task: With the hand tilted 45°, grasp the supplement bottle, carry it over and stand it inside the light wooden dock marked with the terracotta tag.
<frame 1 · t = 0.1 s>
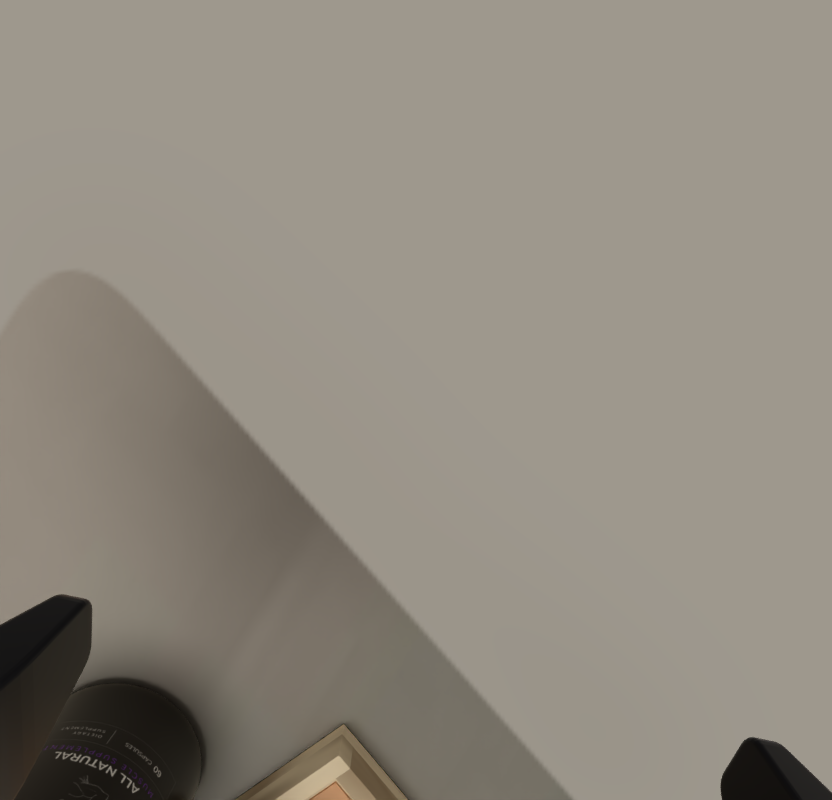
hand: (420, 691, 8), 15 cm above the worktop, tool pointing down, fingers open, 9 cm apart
supplement bottle: (124, 748, 26), on the worktop
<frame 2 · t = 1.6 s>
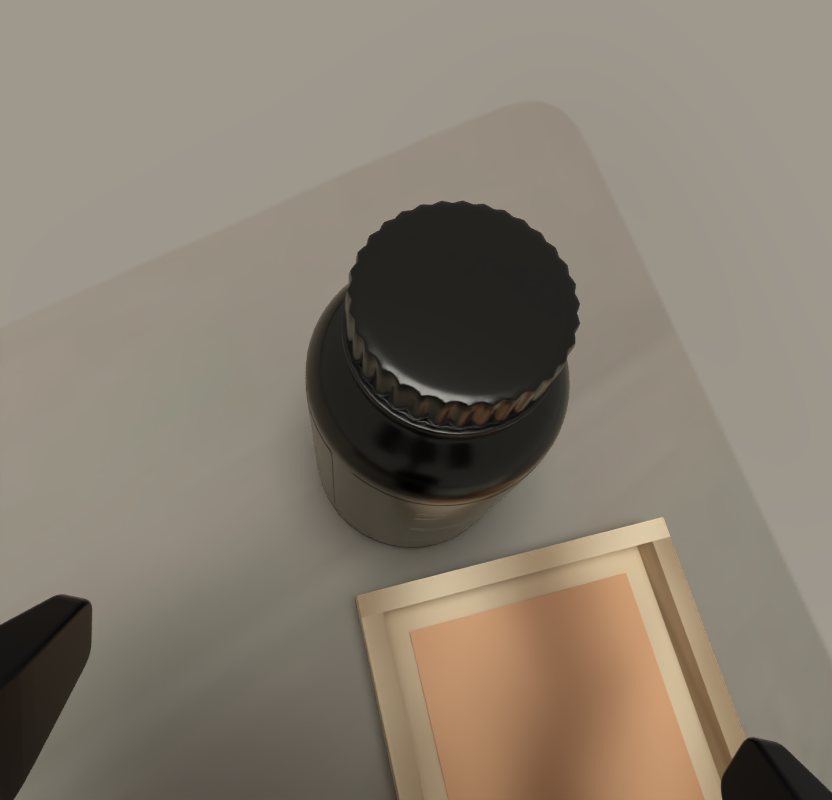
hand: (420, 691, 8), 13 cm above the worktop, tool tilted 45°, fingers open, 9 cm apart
dock: (551, 724, 21), on the worktop
supplement bottle: (406, 458, 24), on the worktop
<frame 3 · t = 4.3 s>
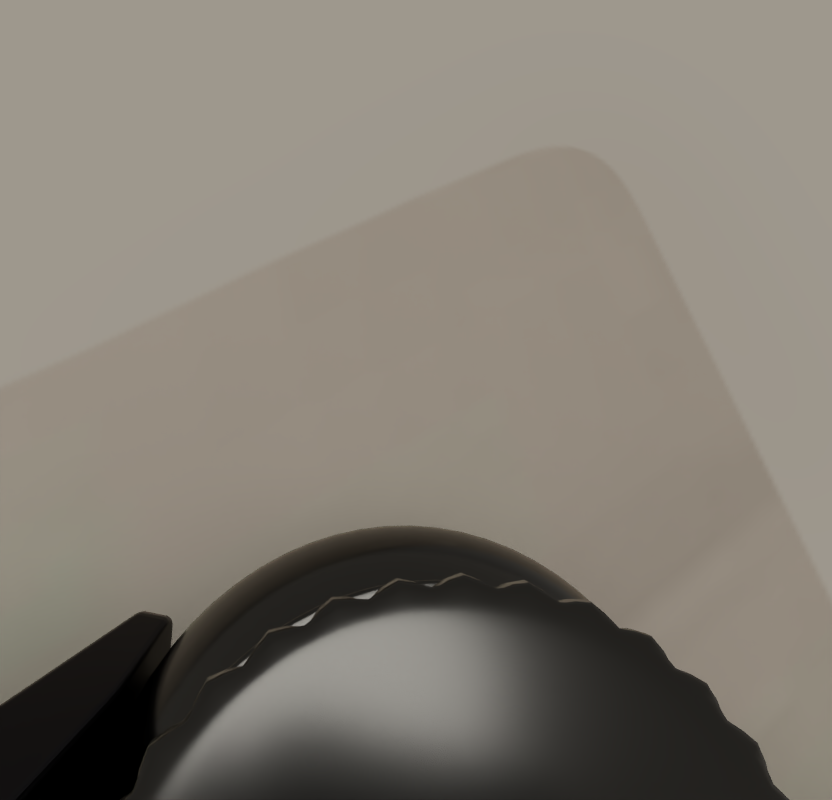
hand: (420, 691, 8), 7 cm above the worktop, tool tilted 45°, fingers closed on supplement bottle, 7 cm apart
supplement bottle: (370, 733, 15), on the worktop, touching gripper
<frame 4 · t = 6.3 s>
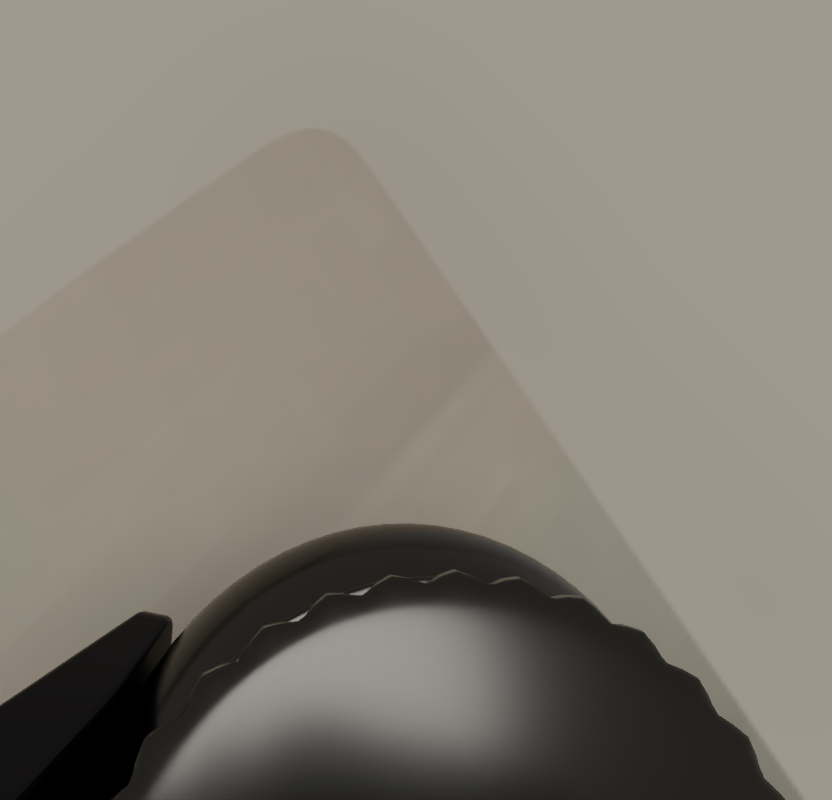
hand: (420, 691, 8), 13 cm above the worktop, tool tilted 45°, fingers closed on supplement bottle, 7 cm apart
supplement bottle: (372, 731, 15), point 6 cm above the worktop, touching gripper
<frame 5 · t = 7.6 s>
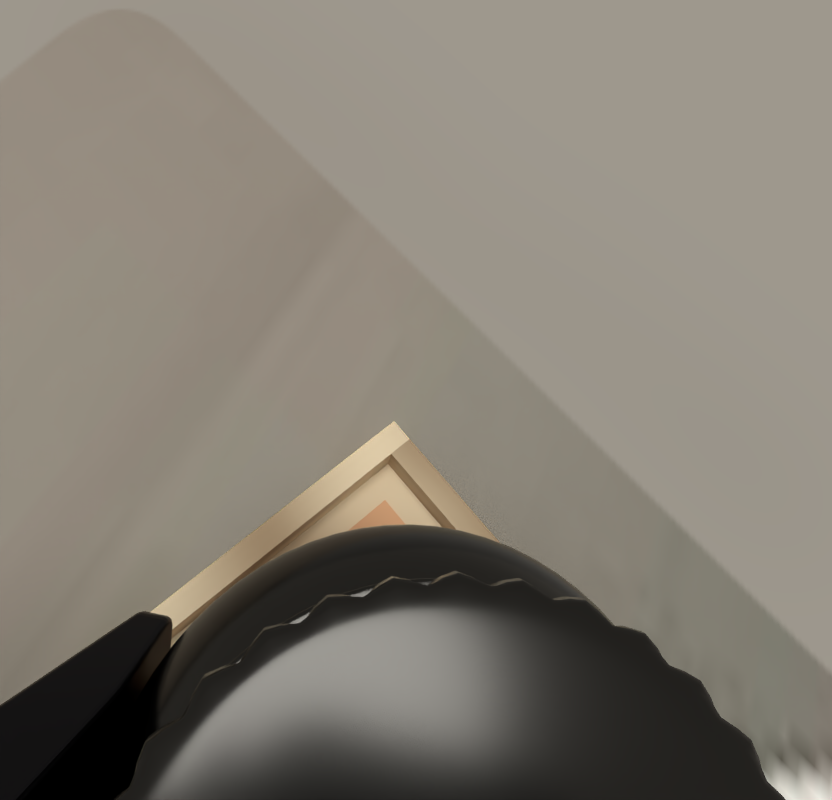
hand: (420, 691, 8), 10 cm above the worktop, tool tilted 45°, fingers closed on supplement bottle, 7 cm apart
dock: (365, 707, 17), on the worktop
supplement bottle: (373, 732, 15), point 3 cm above the worktop, touching gripper
when the fingers open (9 cm above the worktop, at t = 8.5 s): supplement bottle stays where it is, resting on dock.
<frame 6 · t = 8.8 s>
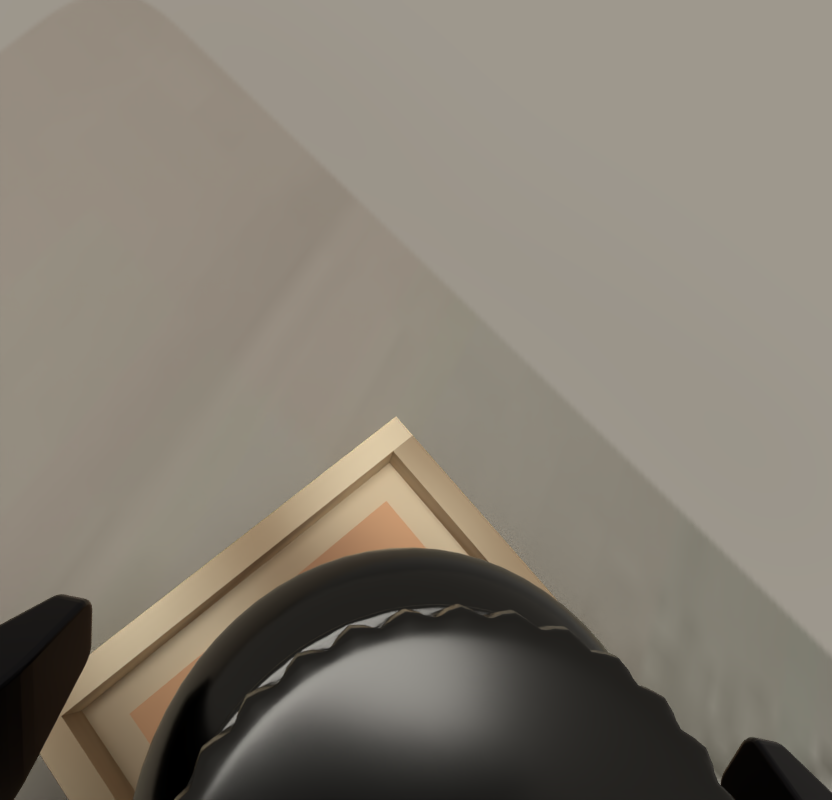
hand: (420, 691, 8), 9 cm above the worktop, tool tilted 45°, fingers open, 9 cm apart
dock: (365, 724, 16), on the worktop
supplement bottle: (373, 733, 15), point 1 cm above the worktop, touching dock
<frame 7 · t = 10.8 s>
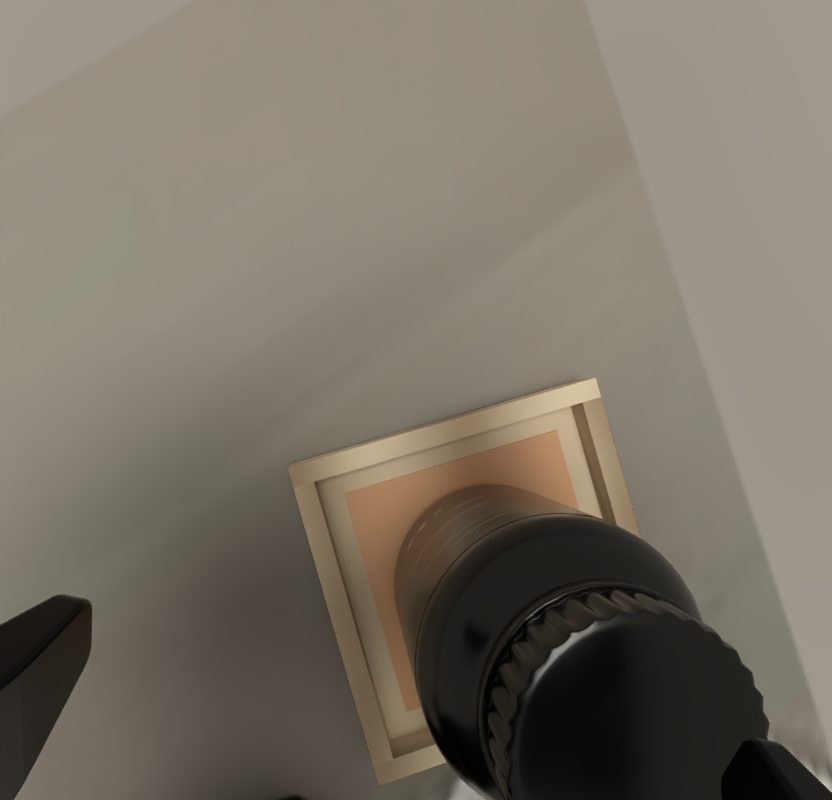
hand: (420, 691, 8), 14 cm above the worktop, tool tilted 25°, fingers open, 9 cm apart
dock: (478, 563, 23), on the worktop
supplement bottle: (484, 573, 23), point 1 cm above the worktop, touching dock
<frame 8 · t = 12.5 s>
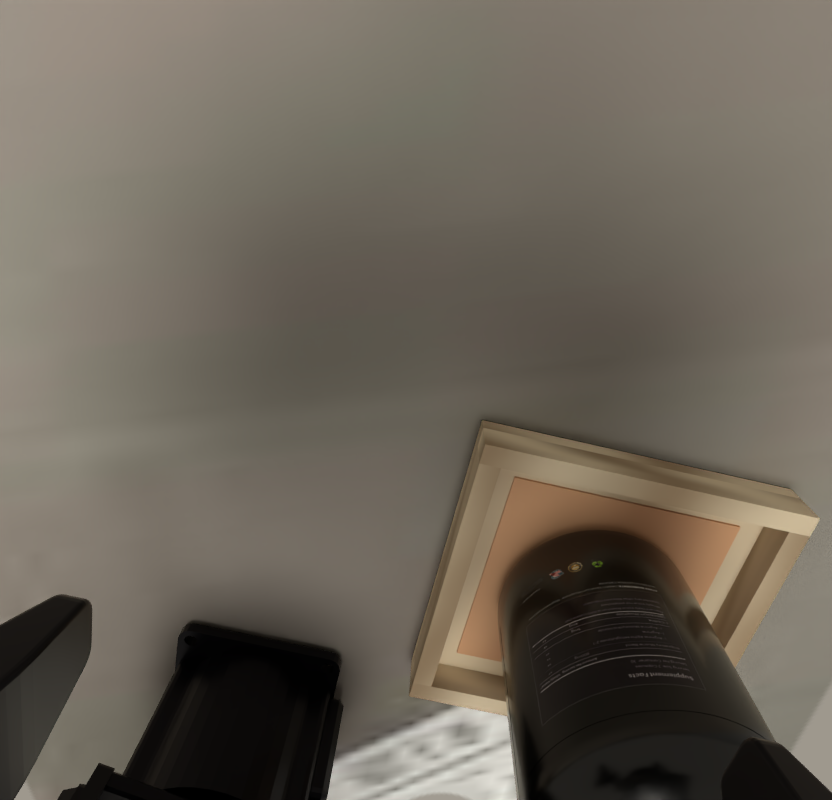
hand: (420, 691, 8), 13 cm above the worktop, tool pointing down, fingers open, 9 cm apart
dock: (586, 581, 23), on the worktop
supplement bottle: (587, 595, 23), point 1 cm above the worktop, touching dock
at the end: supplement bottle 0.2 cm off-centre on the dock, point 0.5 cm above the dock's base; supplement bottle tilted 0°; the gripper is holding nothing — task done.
